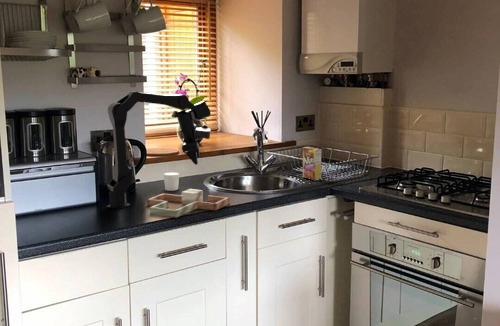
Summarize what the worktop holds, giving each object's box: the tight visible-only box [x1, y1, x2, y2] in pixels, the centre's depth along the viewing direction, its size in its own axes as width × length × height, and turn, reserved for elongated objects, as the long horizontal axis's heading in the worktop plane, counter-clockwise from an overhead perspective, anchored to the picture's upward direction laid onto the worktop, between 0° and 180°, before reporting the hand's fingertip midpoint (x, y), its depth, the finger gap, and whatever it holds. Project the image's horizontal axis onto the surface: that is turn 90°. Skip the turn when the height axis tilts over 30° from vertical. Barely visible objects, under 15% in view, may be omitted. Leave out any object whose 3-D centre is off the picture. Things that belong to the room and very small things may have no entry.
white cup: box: [163, 171, 180, 192], centre depth 247 cm, size 7×7×7 cm
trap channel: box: [146, 192, 230, 218], centre depth 216 cm, size 26×28×2 cm
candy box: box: [302, 146, 322, 179], centre depth 264 cm, size 9×4×15 cm, turn 36°
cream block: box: [181, 188, 204, 206], centre depth 223 cm, size 6×6×5 cm
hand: (197, 160), depth 231 cm, fingers open, 9 cm apart
